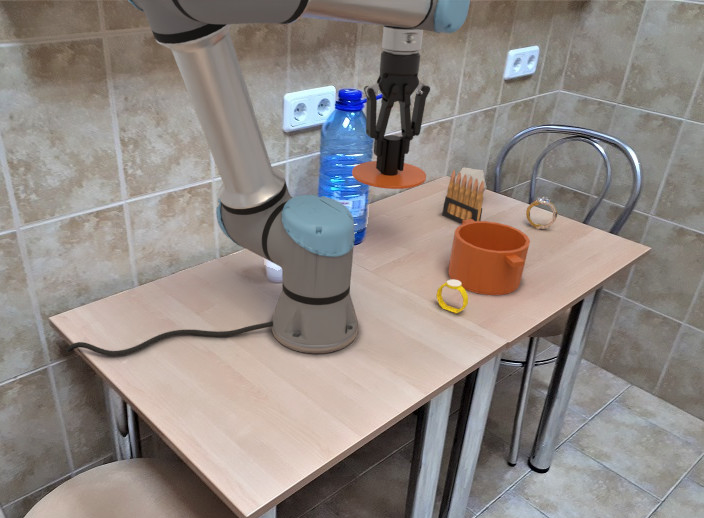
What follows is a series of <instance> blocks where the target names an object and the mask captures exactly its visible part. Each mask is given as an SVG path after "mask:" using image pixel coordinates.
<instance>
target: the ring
mask: <svg viewBox="0 0 704 518" xmlns="http://www.w3.org/2000/svg"><path fill="white" fill-rule="evenodd" d="M551 201H552V199H549V198H548V196H542V197H539V196H537V197H536V199H535V200H533V201H532V202H531V203H530V204H529V206H527V207H526V210H525V215H526V219H527V222H528V223H529V224H530V225H531V226H532V227H534V228H535V229H536V230H539V229H547V228H549V227H551V226H552V225H554V223H555V222H556V220H557V217H558V210H557V208H556V206H555V204H554V203H552V202H551ZM540 205H544V206H545V205H546V206H547V207H549V208H550V209H551V212H552V219H551V221H550V222H548V223H547V224H541V223H536V222H535V221H534V220H533V219H532V217H531V209H532V208H533V207H535V206H540Z"/></svg>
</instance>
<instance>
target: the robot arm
mask: <svg viewBox="0 0 704 518" xmlns="http://www.w3.org/2000/svg"><path fill="white" fill-rule="evenodd" d="M127 1H128V3H130V4H131V5H132V6H133V7H134V8H135V9H137V10H138V11H141V12H143V13H144V15H145V18H146V20H147V22H148V25H149V28H150V30H151V33H152V35H153V37H154V39H155V42H156V43H157V44H158V45H161V46H163V47H165V48H167V49H169V50H171V53H172V55H173V58H174V61H175V63H176V65H177V68H178V71H179V73H180V76H181V78H182V81H183V83H184V86H185V89H186V91H187V94H188V97H189V99H190V102H191V105H192V107H193V108H194V111H195V114H196V117H197V120H198V122H199V124H200V127H201V130H202V132H203V135H204V138H205V140H206V143H207V145H208V149H209V150H210V153H211V155H212V158H213V161H214V164H215V165H216V168H217V171H218V173H219V176H220V179H221V181H222V183H221V186H220V187H219V190H218V200H217V202H218V206H216V210H215V211H216V213H215V215H216V219H217V223H218V226H219V228H220V230H221V232H222V233H223V234H224V235H225V236H226V237H227V238H228V239H229V240H231V242H232V243H235V244H236V245H237V246H239V247H241V248H243V249H246V250H248V251H250V252H251V253H254V254H256V255H257V256H259V257H261V258H262V259H264V260H267V261H269V262H271V263H273V264H275V265H276V266H278V267H280V268H281V271H282V273H281V274H282V275H281V276H282V277H281V279H282V280H281V281H282V288H281V294H279V295H280V296H279V298H278V301H277V303H276V306H275V309H274V310H273V311H274V312H273V314H272V317H271V321H267V322H262V323H257V324H252V325H249V326H244V327H241V328H238V329H232V330H225V331H223V330H222V331H215V330H213V331H212V330H203V329H202V330H201V329H176V330H170V331H167V332H162V333H161V334H157V335H156V336H153V337H151V338H149V339H147V340H145V341H144V342H141V343H139V344H137V345H135V346H131V347H129V348H125V349H119V350H110V349H109V350H108V349H104V348H101V347H98V346H96V345H93V344H91V343H88V342H84V341H78V342H74V343H72V344H70V345H68V346H67V347H66V349H65V352H72V351H73V350H75V349H77V348H81V349H86V350H89V351H92V352H94V353H97V354H99V355H102V356H107V357H121V356H127V355H130V354H133V353H136V352H139V351H141V350H143V349H145V348H147V347H149V346H151V345H153V344H154V343H157V342H159V341H161V340H164V339H167V338H171V337H175V336H184V335H185V336H187V335H188V336H189V335H191V336H192V335H193V336H203V337H215V338H216V337H219V338H221V337H232V336H238V335H241V334H245V333H248V332H253V331H257V330H262V329H267V328H271V332H272V335H273V336H274V338H275V339H276V341H277V342H279V343H280V344H281V345H283V346H284V347H286V348H288V349H290V350H292V351H296V352H299V353H305V354H328V353H333V352H337V351H340V350H342V349H344V348H346V347H348V346H349V345H350V344H352V342H354V341H355V339H356V338H357V335H358V326H359V320H358V316H357V313H356V310H355V306H354V303H353V299H352V296H351V280H352V270H353V268H352V267H353V257H354V246H355V243H356V242H355V240H356V238H355V237H356V234H355V220H354V216H353V215H352V212H351V211H350V210H349V208H347V206H346V205H344V204H343V203H341V202H340V201H338V200H336V199H333V198H331V197H329V196H326V195H325V196H324V195H322V196H318V195H317V194H300V195H296V196H294V197H293V196H292V195H291V194H290V192H289V188H288V186H287V182H286V178H285V176H284V174H283V172H282V171H281V170H280V169H279V168H277V167H274V166H272V163H271V160H270V157H269V154H268V151H267V147H266V145H265V141H264V138H263V135H262V132H261V128H260V125H259V121H258V119H257V115H256V113H255V109H254V107H253V103H252V100H251V97H250V93H249V90H248V88H247V84H246V81H245V78H244V74H243V71H242V68H241V65H240V62H239V59H238V55H237V53H236V48H235V46H234V43H233V39H232V37H231V33H230V28H231V26H232V25H246V24H281V25H290V24H293V23H295V22H297V21H299V20H300V19H301V18H306V19H316V20H317V19H318V20H327V21H335V22H347V23H355V24H356V23H357V24H366V25H375V26H382V27H383V28H382V37H381V48H382V49H383V50H382V51H381V53H380V60H379V61H380V63H379V76H378V78H377V80H376V82H375V83H373V84H371V85H365V86H364V87H363V91H364V94H365V98H366V107H365V109H366V110H365V111H366V112H365V113H366V115H365V116H366V117H365V134H366V135H367V136H368V137H369V138H370V139H373V154H374V155H375V156H376V161H377V163H376V169H378V170H379V171H380V172H384V168H385V157H386V147H387V141H386V140H385V139H384V136H386V132H387V128H388V123H389V120H390V115H391V113H392V109H393V108H394V105H395V103H396V102H398V103H399V114H400V115H399V117H400V131H401V136H399V135H398V136H399V137H401V147H400V156H399V166H398V170H399V171H403V167H404V163H405V158H406V157H405V156H406V155H408V154H409V152H410V145H411V141H412V140H413V139H414V137H418V136H419V135H420V134H421V128H422V125H423V124H422V123H423V119H424V118H423V117H424V112H425V106H426V102H427V101H426V100H427V98H428V95H429V94H430V91H431V87H430V86H429V85H427V84H425V83H421V82H420V79H419V72H420V62H421V54H420V52H419V51H420V50H422V47H423V45H422V44H423V36H424V31H426V32H427V31H428V32H433V33H437V34H441V33H443V34H454V33H456V32H457V31H459V30H460V29H461V28H462V27H463V25H464V23H465V22H466V19H467V17H468V13H469V8H470V5H471V4H470V3H471V0H127ZM379 92H380V93H381V95H382V97H381V99H380V100H381V102H380V103H381V105H380V110H379V113H378V117H377V107H378V102H377V101H378V99H377V97H378V95H379ZM414 92H415V96H414V101H413V108H412V109H413V110H412V113H411V105H412V99H411V96H412V95H413V93H414ZM411 114H412V115H411Z"/></svg>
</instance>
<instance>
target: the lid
mask: <svg viewBox="0 0 704 518" xmlns="http://www.w3.org/2000/svg"><path fill="white" fill-rule="evenodd" d="M401 137H402V136H401ZM401 137H399V135H394V134H389V135H388V134H387V135H385V136H384V139H385V140H386V141H387V147H386V157H385V168H384V172H380V171H379V170H378V169H376V163H377V160H370V161H366V162H361V163H358V164H357V165H355V166H354V167H353V168H352V169H351V175H352V177H353V178H354V179H355V180H356V181H357V182H359V183H361V184H364V185H367V186H370V187H374V188H379V189H386V190H389V189H390V190H405V189H412V188H415V187H418V186H421V185H423V184H424V183H425V182H426V180H427V174H426V172H425V171H424V170H423V169H422V168H421V167H419V166H416V165H413V164H409V163H406V162H404V167H403V171H399V170H398V166H399V156H400V147H401Z"/></svg>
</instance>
